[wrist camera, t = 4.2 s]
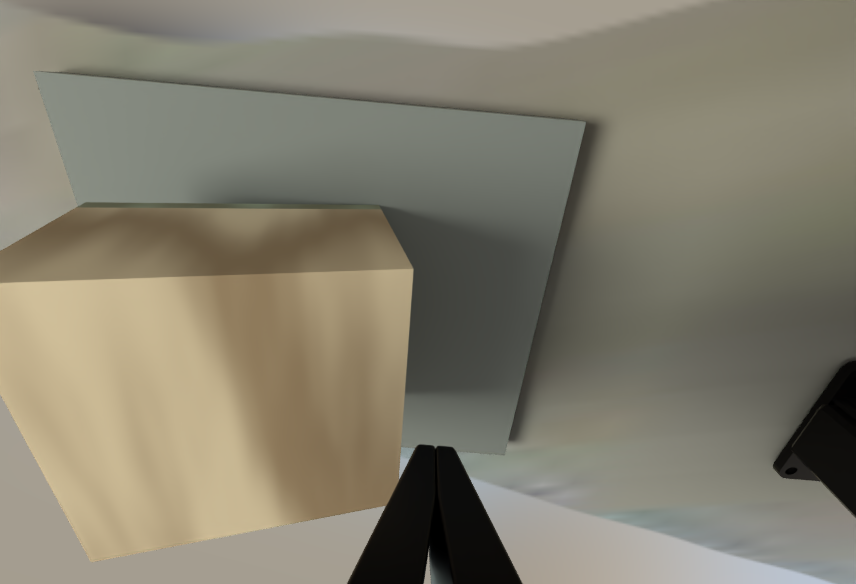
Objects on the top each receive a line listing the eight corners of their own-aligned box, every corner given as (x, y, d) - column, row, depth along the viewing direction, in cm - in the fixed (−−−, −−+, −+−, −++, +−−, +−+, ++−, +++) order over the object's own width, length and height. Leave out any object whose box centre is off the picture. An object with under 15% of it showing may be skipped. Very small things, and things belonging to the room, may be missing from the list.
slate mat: (577, 119, 12) (585, 121, 12) (502, 441, 19) (504, 455, 18) (56, 71, 12) (33, 71, 11) (161, 413, 19) (150, 426, 18)
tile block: (413, 268, 9) (-59, 285, 7) (397, 503, 12) (90, 562, 10) (379, 205, 13) (85, 202, 11) (374, 393, 17) (154, 419, 14)
